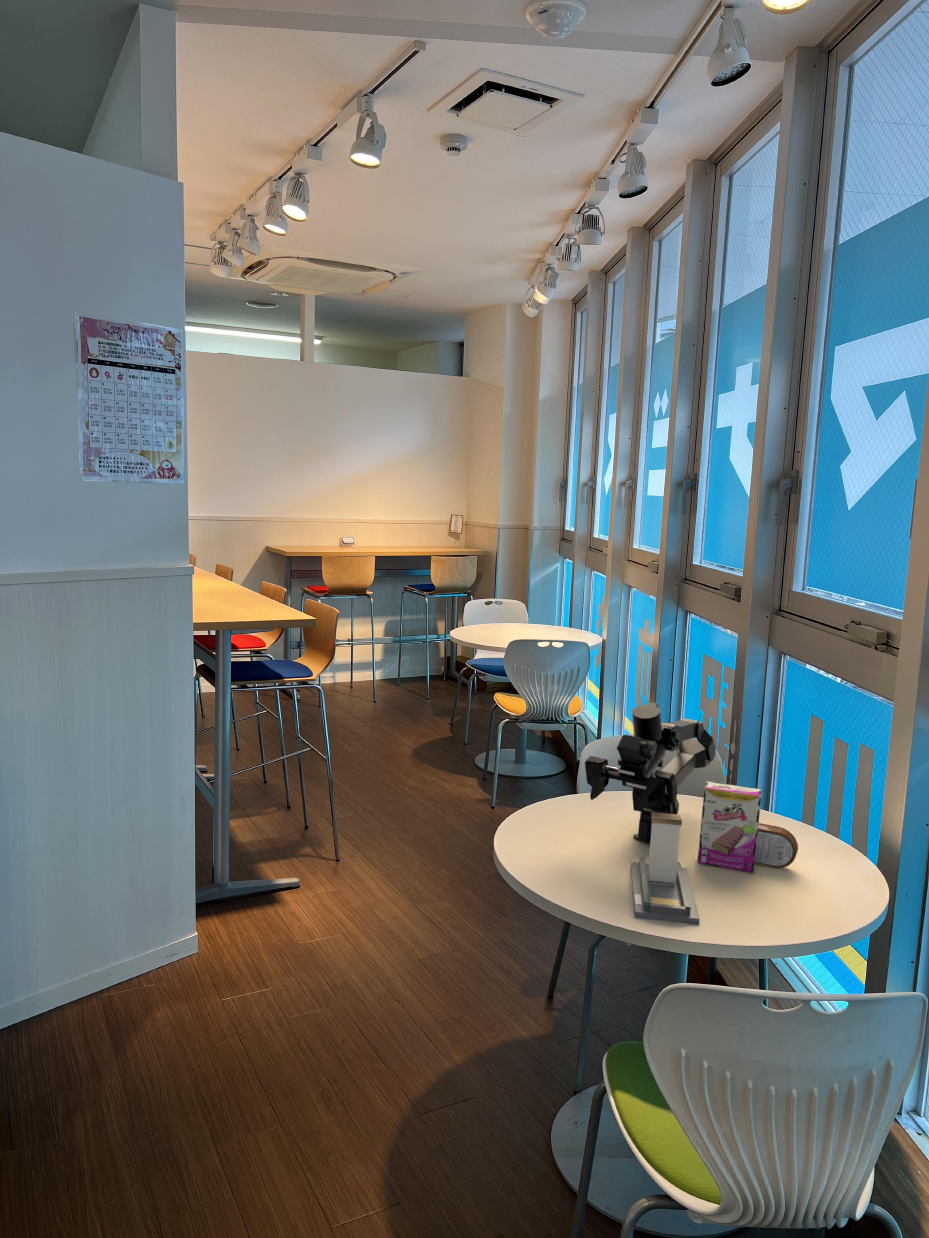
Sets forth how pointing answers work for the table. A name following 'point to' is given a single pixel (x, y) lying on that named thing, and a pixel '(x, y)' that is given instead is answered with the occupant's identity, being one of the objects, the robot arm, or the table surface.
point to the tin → (775, 846)
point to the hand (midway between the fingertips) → (612, 803)
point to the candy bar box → (729, 826)
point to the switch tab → (664, 847)
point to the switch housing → (663, 896)
